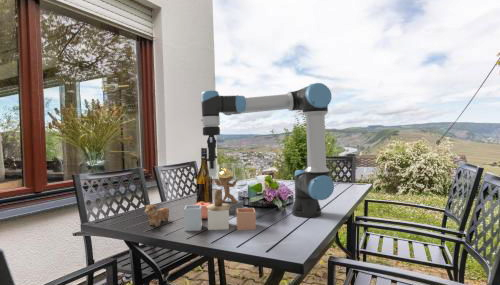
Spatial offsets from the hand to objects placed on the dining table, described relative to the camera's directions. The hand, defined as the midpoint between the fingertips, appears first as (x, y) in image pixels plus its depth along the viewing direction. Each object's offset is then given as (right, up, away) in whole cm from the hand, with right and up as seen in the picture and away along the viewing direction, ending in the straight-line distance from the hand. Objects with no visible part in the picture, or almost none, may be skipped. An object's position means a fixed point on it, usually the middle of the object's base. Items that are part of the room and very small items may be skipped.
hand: (213, 174), depth 133 cm
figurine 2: (+5, -24, +27) cm, 36 cm away
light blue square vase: (-8, -24, -1) cm, 26 cm away
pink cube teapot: (-7, -24, +18) cm, 31 cm away
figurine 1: (-27, -25, +9) cm, 38 cm away
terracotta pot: (+15, -24, 0) cm, 28 cm away
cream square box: (+2, -24, +1) cm, 24 cm away
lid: (+2, -15, +1) cm, 15 cm away
